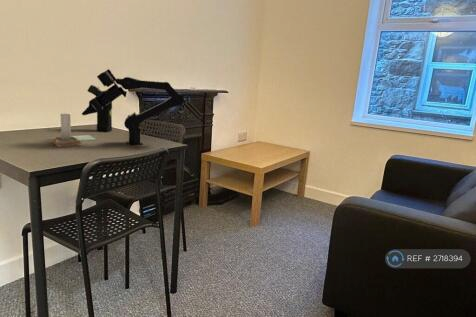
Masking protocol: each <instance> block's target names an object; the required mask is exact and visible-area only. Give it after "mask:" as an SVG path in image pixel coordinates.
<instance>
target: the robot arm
mask: <svg viewBox="0 0 476 317" xmlns="http://www.w3.org/2000/svg"><path fill="white" fill-rule="evenodd" d="M96 78H97V79H98V81H99V82H100V83H101V84H102V85H103V87H107V89H106V90H101V89H100V88H99V89H98V86H96V85H94V84H91V85H89V87H88V89H87V92H88V93H90V94H92V95H94V96H95V97H93V98H91V99H90V100H89V102H88V106H87V107H86V108H85V110H84V111H83V112H81V115H82V116H87V115H91V114H97V112H99V111H101V110H102V109H103V108H104V107H105V106H106V105H108V104H109V103H111V102H112V103H113V102H114V101H115V100H117V99H118V98H119V97H120V96H123V98H126V97H127V94H128V91H127V90H129V91H130V90H136V89H149V90H162V91H165V92H166V93H167V94H168V96H169V97H168V98H167V99H166V100H164V101H163V102H160V103H159V104H157V105H154V106H152V107H150V108H148V109H147V110H144V111H143V112H140V113H138V114H137V113H136V112H135V111H134V112H133V113H131V114H128V115H127V116H126V118H125V119H124V123H123V124H124V127H125V128H126V129H127V130H128V141H125V143H126V144H128V145H130V146H133V145H134V146H135V145H139V146H140V145H144V143H143V142H141V133H142V132H141V129H142V127H141V124H142V123H143V122H144V121H146V120H149V119H150V118H153V117H154V116H156V115H158V114H160V113H162V112H164V111H166V110H168V109H170V108H171V109H172V108H177V107H179V106H182V105H183V104H184V102H185V98H184V96H183V95H182V94H181V93H179V92H177V91H176V89H174V87H173V86H172V85H171V83H170V82H167V81H164V82H163V81H151V80H141V79H137V78H133V77H129V76H125V77H124V78H117V77H115V75H114V74H113V73H112V70H110V68H108V69H106V70H105V71H104V72H101V73H99V74H98V75H97V76H96ZM119 85H120V86H119ZM110 86H111V87H110ZM124 89H125V90H124ZM102 91H103V92H102Z"/></svg>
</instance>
